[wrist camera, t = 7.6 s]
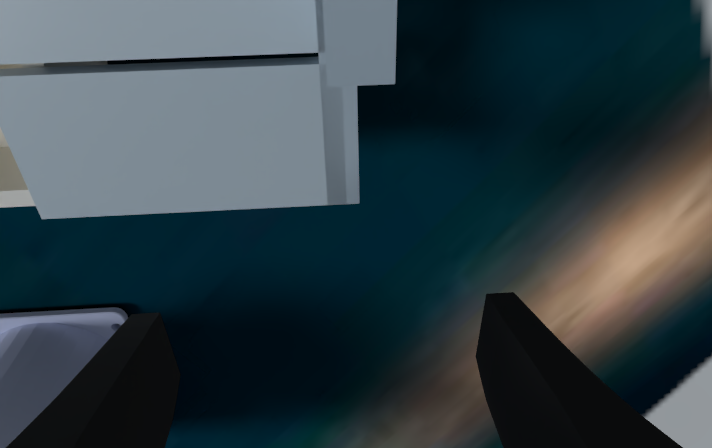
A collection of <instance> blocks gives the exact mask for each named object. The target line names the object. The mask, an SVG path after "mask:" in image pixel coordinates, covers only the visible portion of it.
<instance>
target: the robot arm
mask: <svg viewBox="0 0 712 448" xmlns="http://www.w3.org/2000/svg"><path fill="white" fill-rule="evenodd" d="M117 324H119V325H117ZM476 359H477V364H478V368H479V372H480V377H481V381H482V385H483V389H484V393H485V397H486V401H487V403H488V406H489V409H490V412H491V415H492V417H493V420H494V423H495V426H496V428H497V431H498V434H499V437H500V439H501V442H502V445H503V447H504V448H683V447H681V446H680V445H678V444H677V443H676V442H675V441H673V440H672V439H671V438H670V437H668V436H667V435H665V434H664V433H663V432H662V431H661V430H659V429H658V428H657V427H655V426H654V425H653V424H652V423H650V422H649V421H648V420H646V419H645V418H644V417H643V416H641V415H640V414H639V413H638V412H637V411H635V410H634V409H633V408H632V407H631V406H629V405H628V404H627V403H626V402H625V401H624V400H622V399H621V398H620V397H619V396H618V395H617V394H616V393H615V392H613V391H612V390H611V389H610V388H609V387H608V386H607V385H606V384H604V383H603V382H602V381H601V380H600V379H599V378H598V377H597V376H596V375H595V374H594V373H593V372H591V371H590V370H589V369H588V368H587V367H586V366H585V365H584V364H583V363H582V362H581V361H580V360H579V359H578V358H577V357H576V356H575V355H574V354H573V353H572V352H571V351H570V350H569V349H568V348H567V347H566V346H565V345H564V344H563V343H562V342H561V341H560V340H559V339H558V338H557V337H556V336H555V335H554V334H553V333H552V332H551V331H550V330H549V329H548V328H547V327H546V326H545V325H544V324H543V323H542V322H541V321H540V320H539V318H538V317H537V316H536V315H535V314H534V313H533V312H532V311H531V310H530V309H529V308H528V307H527V306H526V305H525V304H524V303H523V302H522V301H521V300H520V298H519V297H518V296H517V295H516V294H514V293H513V292H512V293H494V294H486V299H485V305H484V311H483V317H482V323H481V329H480V335H479V340H478V346H477V352H476ZM180 375H181V374H180V371H179V368H178V365H177V362H176V359H175V356H174V353H173V350H172V347H171V344H170V341H169V338H168V335H167V332H166V329H165V326H164V323H163V320H162V317H161V314H160V313H144V314H131V316H130V317H129V318H128V316H127V314H126V312H125V311H124V310H122V309H120V308H115V307H111V308H93V309H75V310H58V311H40V312H22V313H5V314H0V448H165V444H166V441H167V438H168V434H169V431H170V427H171V424H172V421H173V416H174V410H175V405H176V400H177V394H178V387H179V381H180Z"/></svg>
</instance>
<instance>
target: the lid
mask: <svg viewBox="0 0 712 448" xmlns="http://www.w3.org/2000/svg"><path fill="white" fill-rule="evenodd" d="M396 31H397V0H0V65H4V64H30V63H57V62H83V61H110V60H137V59H163V58H190V57H216V56H243V55H270V54H296V53H318V56H319V57H299V58H272V59H246V60H220V61H193V62H167V63H141V64H114V65H88V66H62V67H35V68H9V69H0V128H1V130H2V132H3V134H4V137H5V139H6V141H7V143H8V145H9V148H10V150H11V152H12V154H13V157H14V159H15V161H16V163H17V165H18V168H19V170H20V172H21V174H22V176H23V179H24V181H25V183H26V185H27V188H28V190H29V192H30V194H31V196H32V199H33V201H34V203H35V205H36V208H37V210H38V212H39V214H40V216H41V219H56V218H76V217H96V216H116V215H136V214H156V213H177V212H197V211H217V210H237V209H257V208H278V207H298V206H318V205H338V204H358V203H359V157H358V105H357V86H362V85H387V84H395V72H396Z"/></svg>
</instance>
